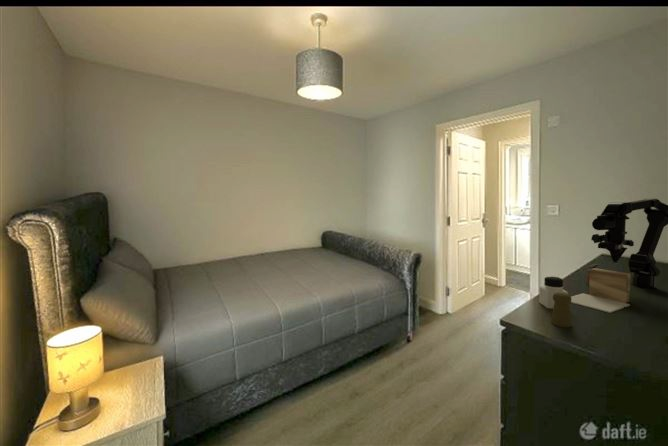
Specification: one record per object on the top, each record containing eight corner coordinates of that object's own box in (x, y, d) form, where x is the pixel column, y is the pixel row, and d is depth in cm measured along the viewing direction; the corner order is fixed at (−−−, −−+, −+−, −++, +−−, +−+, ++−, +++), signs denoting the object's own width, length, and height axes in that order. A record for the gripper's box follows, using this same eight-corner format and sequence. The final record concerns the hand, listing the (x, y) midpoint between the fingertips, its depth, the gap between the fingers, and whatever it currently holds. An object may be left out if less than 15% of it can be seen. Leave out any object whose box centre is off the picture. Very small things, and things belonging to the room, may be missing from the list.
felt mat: (582, 294, 131) (582, 293, 131) (629, 305, 117) (629, 304, 117) (562, 300, 125) (562, 299, 124) (609, 313, 110) (609, 311, 110)
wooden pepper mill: (546, 320, 105) (547, 291, 104) (561, 319, 106) (562, 290, 105) (560, 327, 99) (561, 296, 98) (576, 326, 100) (577, 295, 99)
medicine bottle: (567, 309, 115) (568, 280, 114) (547, 308, 116) (548, 279, 115) (557, 303, 122) (558, 275, 121) (538, 302, 123) (539, 275, 122)
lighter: (593, 286, 142) (593, 266, 141) (584, 284, 145) (585, 265, 144) (600, 283, 146) (601, 264, 145) (592, 282, 149) (593, 263, 148)
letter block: (593, 293, 132) (594, 268, 131) (629, 301, 121) (630, 273, 120) (588, 295, 130) (589, 269, 129) (624, 303, 119) (625, 275, 118)
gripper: (604, 226, 146) (603, 257, 147) (584, 229, 138) (583, 261, 139) (635, 228, 135) (633, 261, 137) (615, 231, 128) (613, 266, 129)
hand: (615, 262), depth 136 cm, fingers closed
